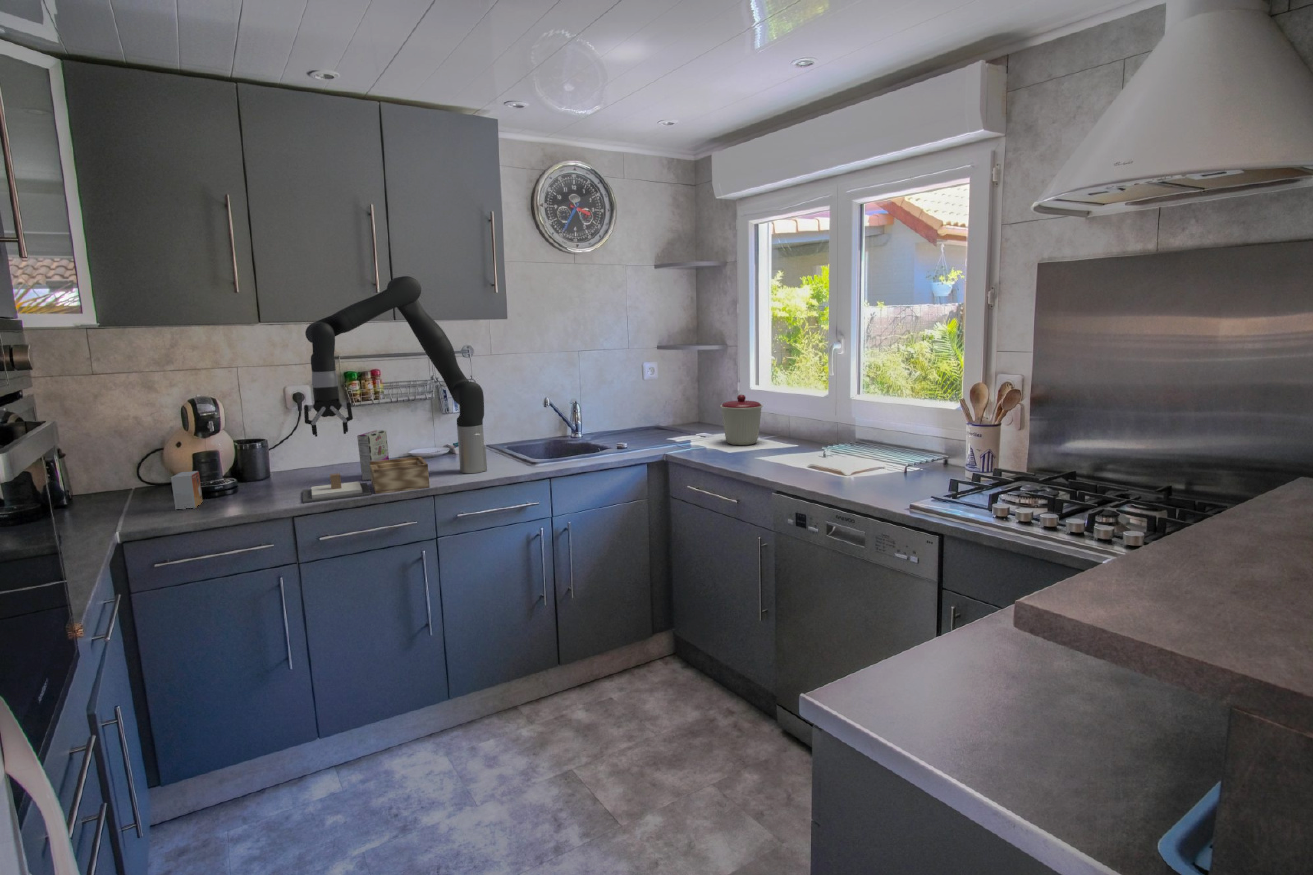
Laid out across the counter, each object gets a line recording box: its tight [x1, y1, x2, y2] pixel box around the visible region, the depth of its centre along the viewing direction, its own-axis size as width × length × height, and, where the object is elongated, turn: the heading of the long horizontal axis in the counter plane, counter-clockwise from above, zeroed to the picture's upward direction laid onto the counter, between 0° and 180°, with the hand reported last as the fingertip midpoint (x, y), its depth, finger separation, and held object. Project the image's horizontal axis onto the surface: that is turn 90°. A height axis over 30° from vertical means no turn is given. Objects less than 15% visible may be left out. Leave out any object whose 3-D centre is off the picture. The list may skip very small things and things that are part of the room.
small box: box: [170, 470, 204, 510], centre depth 227 cm, size 8×6×10 cm
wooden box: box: [370, 456, 431, 495], centre depth 248 cm, size 17×16×8 cm
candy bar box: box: [356, 429, 390, 481], centre depth 263 cm, size 11×5×16 cm, turn 168°
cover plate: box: [310, 472, 362, 499], centre depth 240 cm, size 15×13×6 cm
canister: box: [719, 394, 764, 446], centre depth 311 cm, size 18×18×21 cm
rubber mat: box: [302, 482, 372, 504], centre depth 240 cm, size 20×18×1 cm
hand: (330, 435), depth 237 cm, fingers open, 8 cm apart
